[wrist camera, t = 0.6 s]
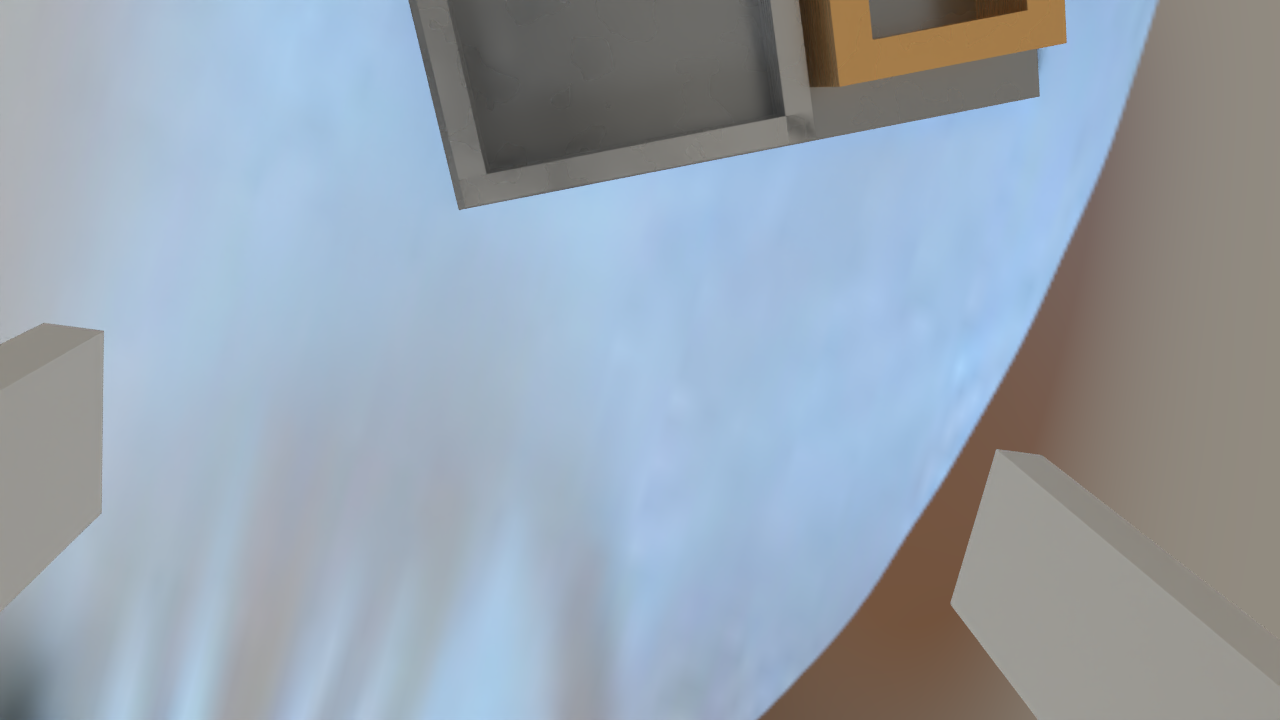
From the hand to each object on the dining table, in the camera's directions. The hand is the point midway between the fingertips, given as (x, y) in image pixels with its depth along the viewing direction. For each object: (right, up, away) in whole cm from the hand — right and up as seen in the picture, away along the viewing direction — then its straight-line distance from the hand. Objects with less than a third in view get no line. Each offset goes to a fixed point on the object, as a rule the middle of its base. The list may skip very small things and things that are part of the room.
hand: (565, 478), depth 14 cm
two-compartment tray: (+4, +16, +21) cm, 27 cm away
